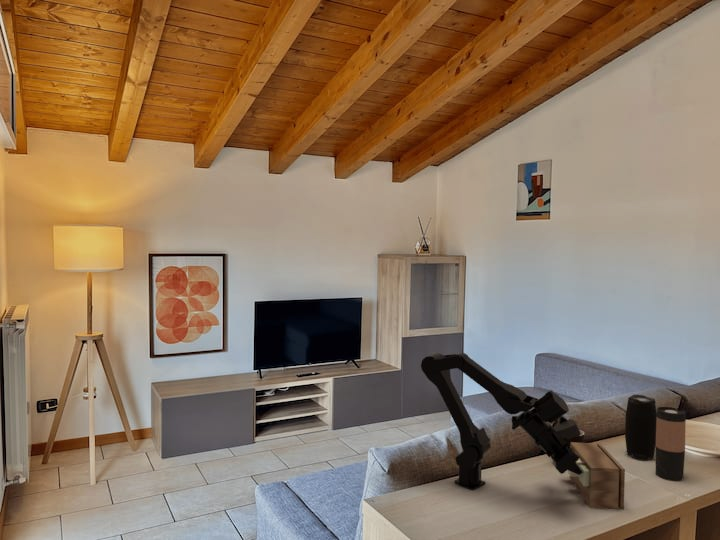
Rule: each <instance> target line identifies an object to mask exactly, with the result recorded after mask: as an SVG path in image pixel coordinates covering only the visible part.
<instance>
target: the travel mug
mask: <svg viewBox="0 0 720 540" xmlns="http://www.w3.org/2000/svg"><path fill="white" fill-rule="evenodd" d="M656 412H657V421H656V447H655V474H656V476H657V477H659V478H660V479H663V480H665V481H666V480H667V481H672V482H681V481H683V480H682V479H684V471H685V458H686V457H685V455H686V422H687V421H686V419H687V418H686V417H687V415H686V411H685V410H678V409H677V408H676V407H672V406H659V407H656Z"/></svg>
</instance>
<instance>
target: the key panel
mask: <svg viewBox="0 0 720 540" xmlns="http://www.w3.org/2000/svg"><path fill="white" fill-rule="evenodd" d="M570 448H572V449H574V450H575V451H576V454H577V455H578V457H581V459H582V460H583V465H586V466H588V467H589V469H590V480H589V486H583V485H582V483H581V482H580V480H579V477H574V476H570V475H569V479H570V480H571V482H572V483H573V485H574V486H575V488H576V489H577V490H578V492H579V493H580V495H581V496H582V498H583V499H584V501H585V502H586V504H587V506H588V507H589V508H591V509H607V510H619V509H620V510H624V509H625V484H626V483H625V477H626V476H625V475H626V471H625V470H626V469H625V468H624V467H623V466H622V464H621V463H620V462H618V460H617V459H615V458H614V457H613V455H612V454H611V453H610V452H609V451H608V450H607V449H606V448H605V447H604V446H603V445H602V444H601V443H598V442H597V443H594V442H593V443H592V442H591V443H590V442H583V443H577V442H570Z"/></svg>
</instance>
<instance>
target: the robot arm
mask: <svg viewBox="0 0 720 540" xmlns="http://www.w3.org/2000/svg"><path fill="white" fill-rule="evenodd" d="M420 368H421V371H422V373H423V374H424V375H425V376H426V379H428V381H429V382H430V383H432V384H433V386H435V387H436V389H437V390H438V392H439V394H440V396H441V398H442V400H443V402H444V404H445V406H446V408H447V410H448V411H449V414H450V416H451V417H452V420H453V422H454V423H455V425H456V428H457V430H458V432H459V439H460V445H461V449H462V452H460V453H459V454H458V455H457V456H456V457H455V458H454V459H455V461H456V462H455V463H456V465H457V466H458V478H457V479H455V480H454V484H457V485H459V486H462V487H464V488H466V489H469V490H471V491H472V490H476V489H477V488H479V487H481V486H484V485H485V484H486V481H484V480H482V460H483V459H484V458H485V457H486V456H487V455H488V454H489V453H490V450H491V443H490V442H491V439H490V438H489V437H488V434H487V432H486V429H485V428H484V427H482V428H480V429H479V428H478V426H476V425H475V424H474V422H473V419H472V418H471V416H470V414H469V412H468V410H467V408H466V407H465V404H464V402H463V400H462V399H461V397H460V395H459V392H458V391H457V389H456V387H455V385H454V383H453V381H452V375H451V370H454V369H457V370H459V371H461V372H462V373H464V375H466V376H467V377H469V378H470V379H471V380H472V381H474V382H475V383H476V384H477V385H479V386H480V387H482V389H484V390H485V391H487V392H488V393H489V394H490V395H491V396H492V397H493V399H494V400H495V402H496V403H497V404H498V405H499V407H501V408H502V410H503V411H504V412H505V413H507V414H509V415H512V416H511V424H512V425H511V430H516V429H518V427H520V428H521V430H523V431H524V432H525V434H527V435H528V436H529V438H531V439H532V440H533V441H534V443H535V445H537V447H539V448H541V450H542V451H544V452H545V454H546V455H547V457H548V458H551V460H552V465H553V466H554V468H555V469H556V471H558V472H559V474H560V475H563V474H564V473H566V472H567V470H569V471H571V472H573V473H576V474H578V475H580V474H581V473H582V471H581V470H580V468H579V467H578V465H577V463H576V462H577V461H578V460H579V457H578V455H577V454H576V453H575V452H574V451H573V449H572V448H570V446H569V444H568V443H566V441H565V440H568V439H571V438H573V437H578V436H580V435H581V433H580V431H579V430H580V429H579V426H578V425H577V422H576V421H575V420H574V419H571V418H568V419H567V418H566V417H565V414H567V413H568V412H569V411H570V408H569V406H568V404H567V402H566V401H565V399H564V398H562V397H561V396H560V395H559V394H557V393H556V392H554V391H553V390H552V389H550V390H549V391H547V392H546V393H545V394H544V395H543V396H542V397H541V396H540V398H537V397H535V396H532V395H528V394H527V393H526V392H524V391H523V390H522V389H520V388H519V387H516V386H514V385H513V384H509V383H506V382H504V381H503V380H500V379H499V378H498V377H496V376H495V375H494V374H492V373H490V371H488V370H487V369H485V368H484V367H483V366H482V365H480V364H479V363H478V362H476V361H475V360H474V359H472V358H471V357H469V355H468V354H467V353H465V352H460V353H456V354H455V353H452V354H446V355H445V354H442V353H437V352H435V353H433V354H430V355H427V356H425V357H424V358H423V359H422V360H421V364H420ZM517 414H519V415H517ZM555 421H557V423H556V424H555V425H554V426H552V425H551V424H552V423H554V422H555ZM547 422H548V423H547Z"/></svg>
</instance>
